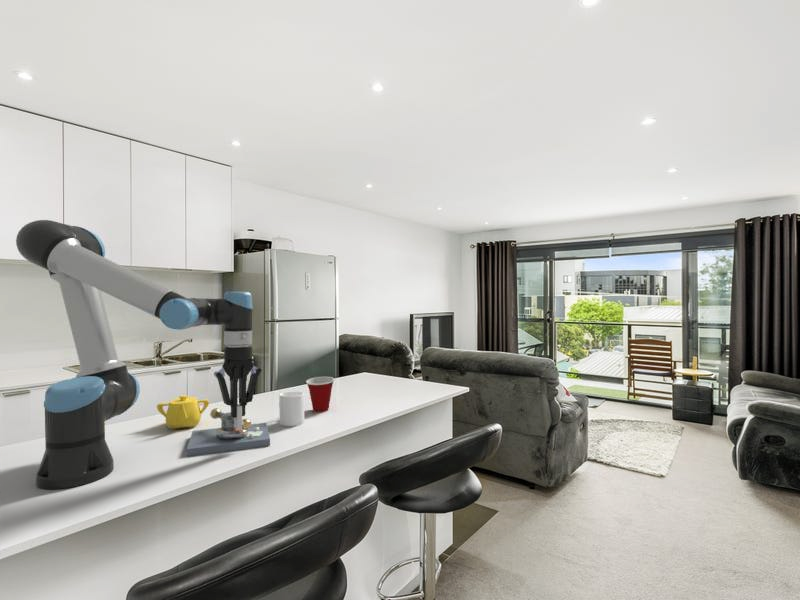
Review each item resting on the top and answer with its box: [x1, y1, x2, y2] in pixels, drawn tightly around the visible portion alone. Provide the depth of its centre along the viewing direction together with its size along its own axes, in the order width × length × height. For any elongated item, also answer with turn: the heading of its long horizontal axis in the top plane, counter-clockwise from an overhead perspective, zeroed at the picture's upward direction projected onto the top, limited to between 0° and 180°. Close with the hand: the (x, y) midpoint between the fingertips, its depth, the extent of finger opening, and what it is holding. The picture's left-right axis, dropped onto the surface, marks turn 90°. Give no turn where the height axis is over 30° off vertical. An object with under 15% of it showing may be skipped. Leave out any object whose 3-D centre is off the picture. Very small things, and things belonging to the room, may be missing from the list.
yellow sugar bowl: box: [156, 394, 210, 430], centre depth 145 cm, size 14×13×10 cm
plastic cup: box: [305, 376, 335, 413], centre depth 163 cm, size 11×11×12 cm
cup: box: [278, 390, 305, 427], centre depth 148 cm, size 8×12×10 cm
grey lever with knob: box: [209, 407, 252, 439], centre depth 128 cm, size 21×9×6 cm, turn 49°
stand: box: [186, 422, 271, 457], centre depth 129 cm, size 22×17×3 cm
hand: (238, 428), depth 121 cm, fingers closed
